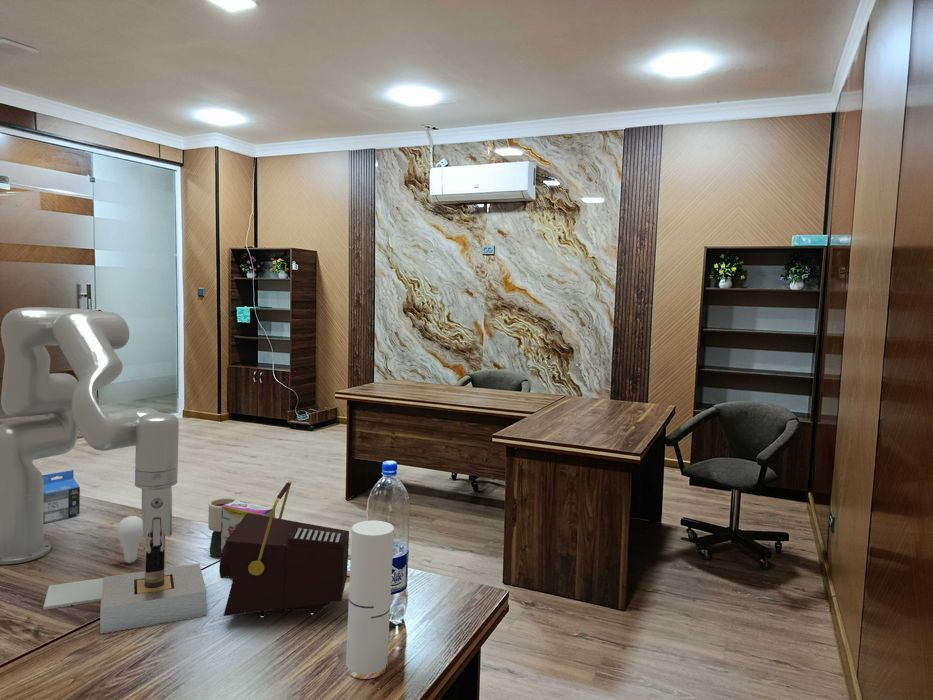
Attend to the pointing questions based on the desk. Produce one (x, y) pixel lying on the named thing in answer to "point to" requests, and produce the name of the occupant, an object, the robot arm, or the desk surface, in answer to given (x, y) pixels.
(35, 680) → the desk surface
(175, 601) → the breaker box
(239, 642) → the desk surface
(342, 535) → the dark brown boxy piece
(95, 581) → the mat
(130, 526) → the lightbulb
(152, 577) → the beige cylinder
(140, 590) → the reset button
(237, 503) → the candy bar box
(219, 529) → the character mug
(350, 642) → the cylindrical container
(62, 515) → the ink cartridge box
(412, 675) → the desk surface
